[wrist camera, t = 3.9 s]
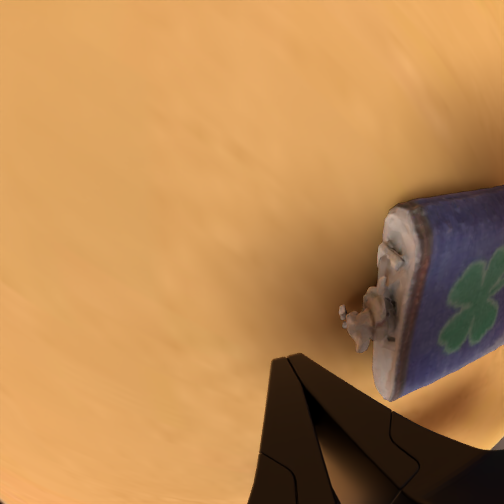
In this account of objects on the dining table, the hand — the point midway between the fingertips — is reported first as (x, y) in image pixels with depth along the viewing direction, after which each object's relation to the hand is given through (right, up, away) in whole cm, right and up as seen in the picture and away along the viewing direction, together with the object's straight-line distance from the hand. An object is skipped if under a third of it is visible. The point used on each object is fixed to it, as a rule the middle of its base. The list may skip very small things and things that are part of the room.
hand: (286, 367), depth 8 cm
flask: (+12, +4, +6) cm, 14 cm away
